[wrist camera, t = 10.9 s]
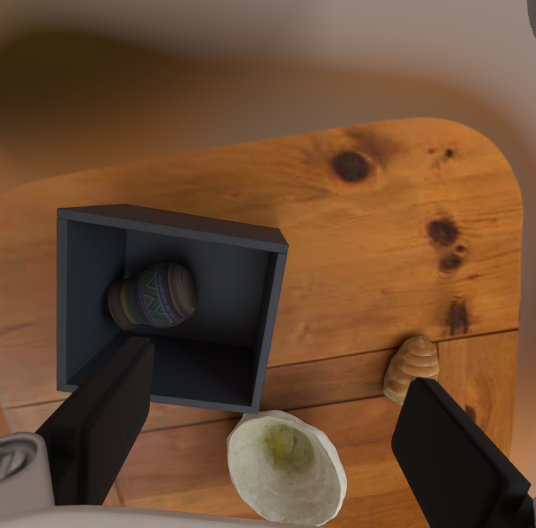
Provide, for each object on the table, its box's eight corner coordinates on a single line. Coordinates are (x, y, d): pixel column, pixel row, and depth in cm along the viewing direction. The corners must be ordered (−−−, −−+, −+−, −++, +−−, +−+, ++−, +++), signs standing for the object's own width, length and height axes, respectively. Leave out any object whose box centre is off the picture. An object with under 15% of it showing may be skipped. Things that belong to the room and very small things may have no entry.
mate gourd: (184, 315, 28) (83, 342, 28) (206, 323, 35) (126, 344, 35) (173, 247, 30) (80, 271, 30) (196, 268, 37) (121, 288, 37)
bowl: (251, 369, 40) (249, 425, 30) (343, 400, 41) (369, 463, 32) (214, 454, 43) (201, 530, 33) (302, 480, 44) (314, 560, 35)
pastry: (392, 330, 39) (407, 344, 35) (440, 335, 40) (460, 350, 36) (378, 391, 41) (390, 410, 37) (423, 395, 42) (440, 415, 38)
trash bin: (124, 203, 34) (56, 207, 23) (279, 229, 36) (289, 244, 24) (117, 332, 38) (56, 390, 27) (258, 350, 39) (258, 415, 28)
